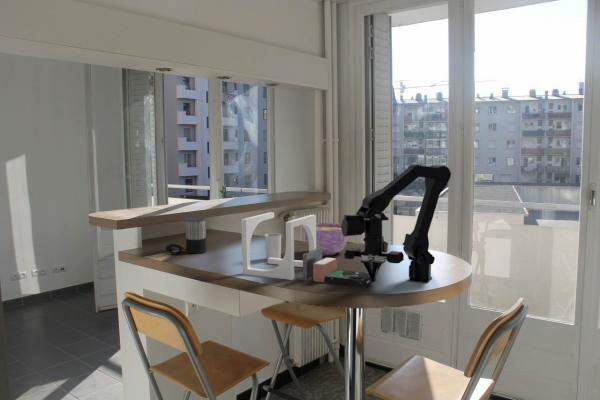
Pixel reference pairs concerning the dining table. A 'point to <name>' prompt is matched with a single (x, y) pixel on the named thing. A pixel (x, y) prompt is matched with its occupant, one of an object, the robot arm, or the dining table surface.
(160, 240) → the dining table surface
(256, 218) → the white arched frame
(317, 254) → the metal plate
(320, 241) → the bowl of food
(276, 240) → the drinking glass
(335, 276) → the disk drive
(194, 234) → the milk frother
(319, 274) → the book
